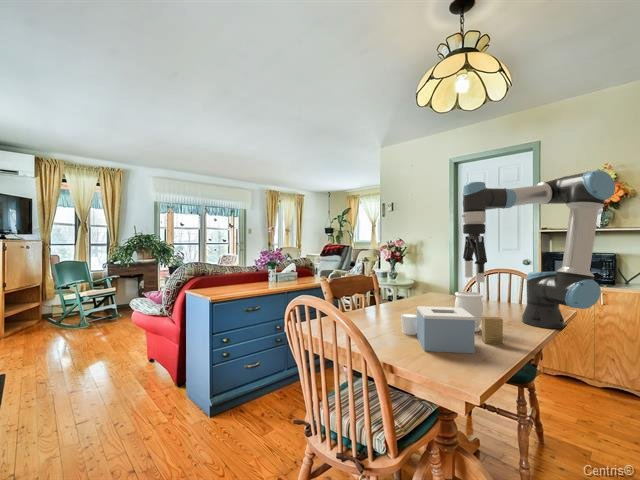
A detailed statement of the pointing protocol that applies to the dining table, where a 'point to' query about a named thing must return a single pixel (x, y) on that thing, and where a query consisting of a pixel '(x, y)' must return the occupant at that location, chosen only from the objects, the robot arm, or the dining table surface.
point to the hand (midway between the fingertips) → (474, 279)
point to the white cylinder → (409, 324)
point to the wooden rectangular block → (492, 330)
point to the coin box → (446, 329)
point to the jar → (471, 305)
